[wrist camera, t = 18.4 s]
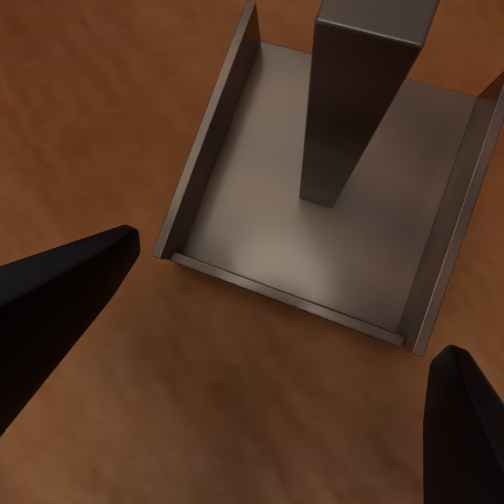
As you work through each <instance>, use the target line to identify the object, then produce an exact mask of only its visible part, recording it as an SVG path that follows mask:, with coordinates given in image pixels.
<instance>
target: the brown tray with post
mask: <svg viewBox="0 0 504 504" xmlns="http://www.w3.org/2000/svg"><path fill="white" fill-rule="evenodd" d="M439 1H440V0H322V2H321V5H320V8H319V11H318V13H317V16H316V19H315V25H314V36H313V47H312V54H310V53H306V52H302V51H299V50H295V49H291V48H287V47H283V46H279V45H276V44H272V43H268V42H264V41H260V40H261V39H260V31H259V24H258V16H257V8H256V3H254V2H250V1H246V4H245V7H244V9H243V12H242V15H241V17H240V20H239V23H238V25H237V28H236V31H235V33H234V36H233V39H232V41H231V44H230V47H229V49H228V52H227V55H226V57H225V60H224V63H223V65H222V68H221V71H220V73H219V76H218V79H217V81H216V84H215V87H214V89H213V92H212V94H211V97H210V100H209V102H208V105H207V108H206V110H205V113H204V116H203V118H202V121H201V124H200V126H199V129H198V132H197V134H196V137H195V140H194V142H193V145H192V148H191V150H190V153H189V156H188V158H187V161H186V164H185V166H184V169H183V172H182V174H181V177H180V180H179V182H178V185H177V188H176V190H175V193H174V196H173V198H172V201H171V204H170V206H169V209H168V212H167V214H166V217H165V220H164V222H163V225H162V228H161V230H160V233H159V236H158V238H157V241H156V243H155V246H154V249H153V251H152V254H151V255H152V256H154V257H157V258H160V259H166V260H170V261H173V262H175V263H178V264H181V265H183V266H186V267H189V268H191V269H194V270H197V271H199V272H202V273H205V274H207V275H210V276H212V277H215V278H218V279H220V280H223V281H226V282H228V283H231V284H234V285H236V286H239V287H242V288H244V289H247V290H250V291H252V292H255V293H258V294H260V295H263V296H266V297H268V298H271V299H274V300H276V301H279V302H282V303H284V304H287V305H290V306H292V307H295V308H298V309H300V310H303V311H306V312H308V313H311V314H314V315H316V316H319V317H322V318H324V319H327V320H330V321H332V322H335V323H338V324H340V325H343V326H345V327H348V328H351V329H353V330H356V331H359V332H361V333H364V334H367V335H369V336H372V337H375V338H377V339H380V340H383V341H385V342H388V343H391V344H393V345H396V346H399V347H402V348H404V349H405V350H407V351H409V352H410V353H412V354H414V355H417V356H420V357H423V356H424V353H425V350H426V348H427V345H428V342H429V339H430V336H431V333H432V330H433V327H434V324H435V321H436V318H437V315H438V312H439V309H440V306H441V303H442V300H443V297H444V294H445V291H446V289H447V286H448V283H449V280H450V277H451V274H452V271H453V268H454V265H455V262H456V259H457V256H458V253H459V250H460V247H461V244H462V241H463V238H464V235H465V233H466V230H467V227H468V224H469V221H470V218H471V215H472V212H473V209H474V206H475V203H476V200H477V197H478V194H479V191H480V188H481V185H482V182H483V179H484V176H485V174H486V171H487V168H488V165H489V162H490V159H491V156H492V153H493V150H494V147H495V144H496V141H497V138H498V135H499V132H500V129H501V126H502V123H503V120H504V71H503V72H502V73H501V74H500V75H499V76H498V77H497V78H496V79H495V80H494V81H493V82H492V83H491V84H490V85H489V86H488V87H487V88H486V89H485V90H484V91H483V92H482V93H481V94H480V95H479V96H478V97H475V96H471V95H468V94H464V93H460V92H456V91H452V90H448V89H445V88H441V87H437V86H433V85H429V84H425V83H421V82H418V81H414V80H410V79H406V77H407V75H408V73H409V71H410V70H411V68H412V66H413V64H414V63H415V61H416V59H417V57H418V55H419V54H420V52H421V50H422V48H423V46H424V44H425V41H426V38H427V35H428V32H429V29H430V27H431V24H432V21H433V18H434V15H435V12H436V10H437V7H438V4H439Z"/></svg>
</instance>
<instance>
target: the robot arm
mask: <svg viewBox="0 0 504 504" xmlns="http://www.w3.org/2000/svg"><path fill="white" fill-rule="evenodd" d="M139 254H140V239H139V231H138V230H137V229H136V228H133V227H130V226H128V225H122V226H119V227H116V228H113V229H110V230H107V231H104V232H101V233H98V234H95V235H92V236H89V237H86V238H83V239H80V240H77V241H74V242H71V243H68V244H65V245H62V246H59V247H56V248H53V249H50V250H47V251H44V252H41V253H38V254H35V255H32V256H29V257H26V258H24V259H21V260H18V261H15V262H12V263H9V264H6V265H3V266H0V437H1V436H2V434H3V433H4V432H5V429H7V428H8V427H9V425H10V424H11V423H12V422H13V420H14V419H15V418H16V417H17V415H18V414H19V413H20V412H21V410H22V409H23V408H24V407H25V405H26V404H27V403H28V402H29V400H30V399H31V398H32V397H33V396H34V394H35V393H36V392H37V391H38V389H39V388H40V387H41V386H42V384H43V383H44V382H45V381H46V379H47V378H48V377H49V376H50V374H51V373H52V372H53V371H54V369H55V368H56V367H57V366H58V364H59V363H60V362H61V361H62V359H63V358H64V357H65V356H66V354H67V353H68V352H69V351H70V350H71V348H72V347H73V346H74V345H75V343H76V342H77V341H78V340H79V338H80V337H81V336H82V335H83V333H84V332H85V331H86V330H87V328H88V327H89V326H90V325H91V323H92V322H93V321H94V320H95V318H96V317H97V316H98V315H99V313H100V312H101V311H102V310H103V308H104V307H105V306H106V305H107V303H108V302H109V301H110V300H111V298H112V297H113V296H114V294H115V293H116V291H117V290H118V288H119V286H120V285H121V283H122V282H123V280H124V279H125V277H126V275H127V274H128V272H129V271H130V269H131V267H132V266H133V264H134V263H135V261H136V260H137V258H138V256H139ZM423 488H424V504H504V403H503V401H502V400H501V399H500V397H499V396H498V394H497V393H496V391H495V390H494V388H493V387H492V385H491V384H490V382H489V381H488V379H487V378H486V377H485V375H484V374H483V372H482V371H481V369H480V368H479V366H478V365H477V363H476V362H475V360H474V359H473V357H472V356H471V355H470V353H469V352H468V351H467V350H465V349H463V348H460V347H457V346H454V345H448V346H447V347H445V348H444V349H443V350H442V351H441V352H440V353H439V354H438V355H437V356H436V357H435V358H434V359H433V360H432V362H431V364H430V367H429V375H428V384H427V392H426V401H425V409H424V420H423Z"/></svg>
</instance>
